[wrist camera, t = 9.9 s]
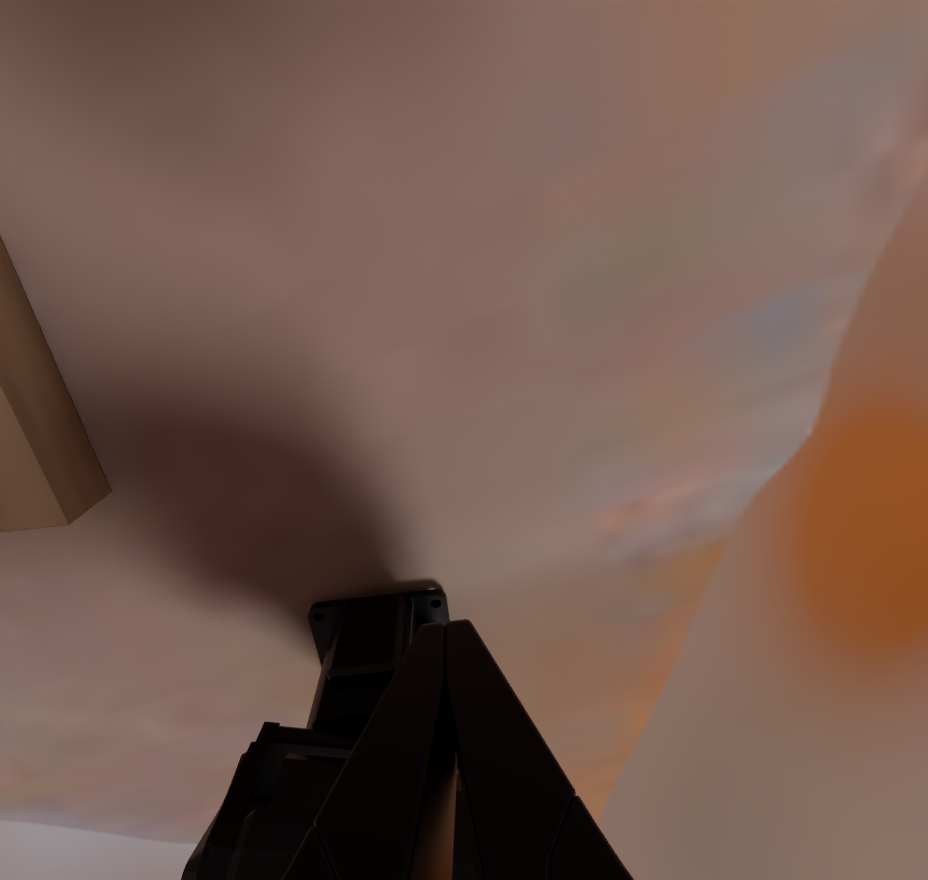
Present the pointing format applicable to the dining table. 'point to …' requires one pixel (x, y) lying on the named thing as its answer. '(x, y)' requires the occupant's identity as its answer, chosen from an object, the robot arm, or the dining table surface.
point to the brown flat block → (38, 425)
